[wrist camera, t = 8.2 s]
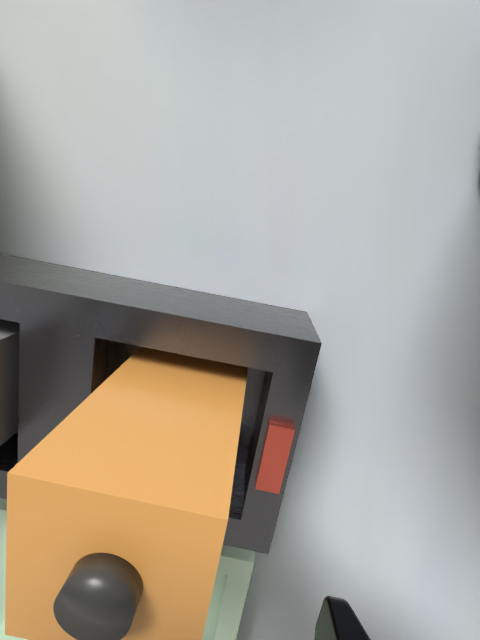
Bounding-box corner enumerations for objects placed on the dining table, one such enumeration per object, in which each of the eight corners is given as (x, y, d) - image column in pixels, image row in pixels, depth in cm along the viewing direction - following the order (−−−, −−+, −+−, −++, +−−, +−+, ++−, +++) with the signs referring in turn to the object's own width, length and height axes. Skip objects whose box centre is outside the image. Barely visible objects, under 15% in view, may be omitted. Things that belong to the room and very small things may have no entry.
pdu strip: (306, 312, 14) (322, 346, 10) (267, 477, 16) (268, 561, 12) (-73, 239, 15) (-207, 244, 11) (-64, 409, 17) (-173, 469, 13)
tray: (255, 528, 17) (254, 562, 15) (222, 671, 20) (217, 714, 18) (-23, 471, 18) (-55, 497, 16) (-20, 618, 20) (-47, 655, 18)
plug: (249, 358, 14) (223, 550, 6) (231, 445, 15) (187, 715, 7) (150, 337, 14) (-19, 497, 6) (139, 426, 15) (-18, 669, 7)
